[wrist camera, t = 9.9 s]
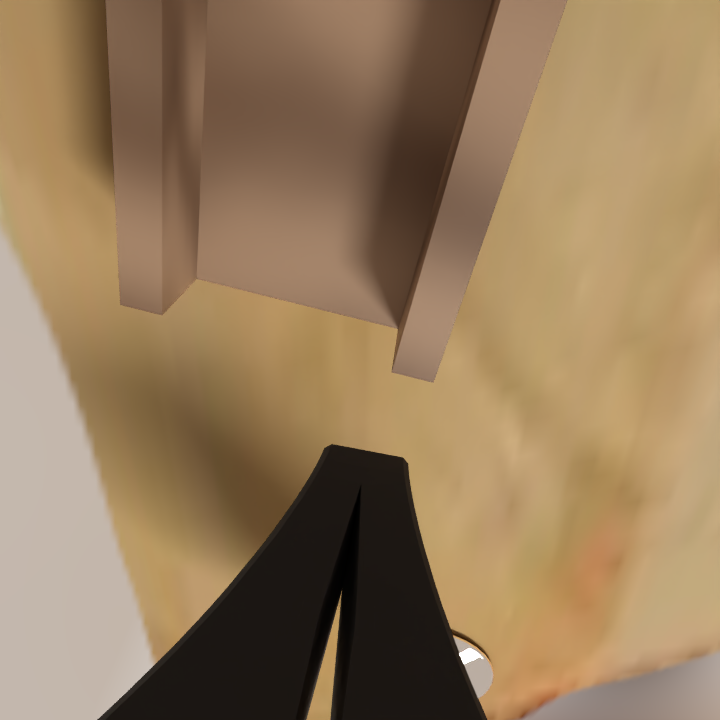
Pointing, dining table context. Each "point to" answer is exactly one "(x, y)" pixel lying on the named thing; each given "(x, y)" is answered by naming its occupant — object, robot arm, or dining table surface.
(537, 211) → the dining table surface
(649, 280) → the dining table surface
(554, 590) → the dining table surface
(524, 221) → the dining table surface
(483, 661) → the wineglass
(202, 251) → the shallow wooden tray
